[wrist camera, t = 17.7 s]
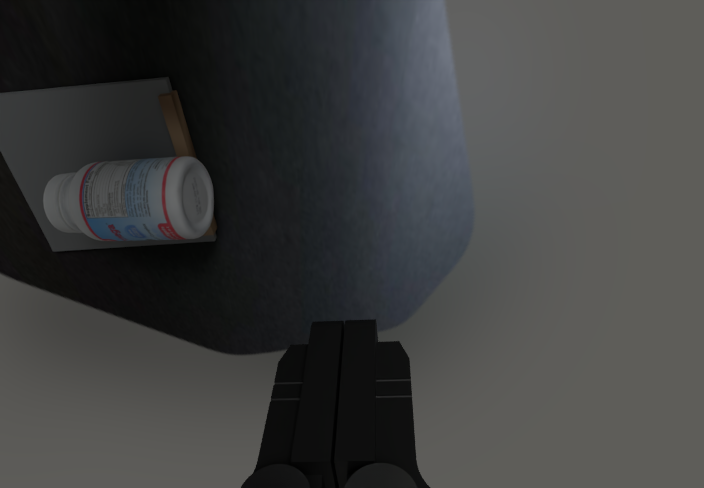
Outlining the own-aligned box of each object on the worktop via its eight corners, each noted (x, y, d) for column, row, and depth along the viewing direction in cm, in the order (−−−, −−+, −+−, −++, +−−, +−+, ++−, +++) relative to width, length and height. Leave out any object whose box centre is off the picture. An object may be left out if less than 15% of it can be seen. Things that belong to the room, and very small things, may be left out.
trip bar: (163, 91, 37) (157, 96, 36) (176, 90, 37) (171, 95, 36) (206, 228, 44) (202, 235, 43) (217, 227, 44) (213, 235, 43)
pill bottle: (218, 239, 40) (94, 242, 42) (216, 162, 40) (92, 170, 42) (176, 238, 34) (35, 242, 36) (174, 148, 34) (33, 158, 36)
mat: (-23, 95, 38) (-28, 97, 38) (168, 76, 37) (165, 79, 36) (56, 247, 46) (53, 251, 45) (216, 237, 45) (215, 241, 44)
